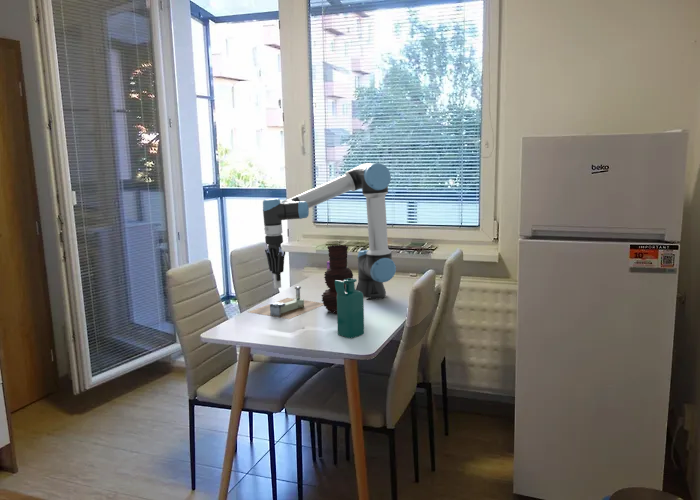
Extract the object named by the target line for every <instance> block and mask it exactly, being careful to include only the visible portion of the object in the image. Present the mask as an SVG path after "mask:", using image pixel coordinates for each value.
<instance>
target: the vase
mask: <svg viewBox="0 0 700 500" xmlns="http://www.w3.org/2000/svg"><path fill="white" fill-rule="evenodd" d="M348 249H349V245H346V244H345V245H344V244H338V245H337V244H335V245H333V244H332V245H329V246H327V251H328V261H329V262H330V263H329V265H330V268H329V269H327V268H326V271H325V272H324V277H323V279H324V283H325V284H326V287H327V289H326V290H324V292H322V294H321V302H322V303H323V304H324V305H323V307H325V309H326V310H327V312H329V314H330V313H331V314H334V315H337V292H336V289H335V280H340V281H343V280H344V279H347V278H353V279H354V274H353V272H352V270H351V269H350V268H349V267H348V268H347V263H348ZM344 290H345V284H344Z"/></svg>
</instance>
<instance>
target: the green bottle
mask: <svg viewBox="0 0 700 500" xmlns="http://www.w3.org/2000/svg"><path fill="white" fill-rule="evenodd" d="M357 282H358V279H356V278H354V277H353V278H347V279H344V280H343V281H340V280H335V289H336V292H337V313H336V315H337V316H336V319H337V320H336V321H337V335H338V336H341V337H344V338H347V339H354V338H357V337H361V336H364V335H365V309H364V307H365V306H364V305H365V304H364V303H365V302H364V301H365V299H364V298H365V297H363V293H362V292H361V291H358V290H356V287H355V285H356V284H355V283H357ZM344 284H345V290H344Z"/></svg>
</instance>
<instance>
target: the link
mask: <svg viewBox="0 0 700 500" xmlns="http://www.w3.org/2000/svg"><path fill="white" fill-rule="evenodd" d="M293 299H294V300H293V301H290V302H287V303H285V306H284V307H281V313H284V312H287V311H291V310H294V309H297V308H302V307H304V300H305V299H303V298H300V300H296V298H293Z"/></svg>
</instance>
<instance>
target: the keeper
mask: <svg viewBox="0 0 700 500" xmlns="http://www.w3.org/2000/svg"><path fill="white" fill-rule="evenodd" d="M284 306H285V303H279V302H277V301H274V302H272V303H270V315H271V316H270V317H273V316H277V317H276V318H279V317H281V307H284Z"/></svg>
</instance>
